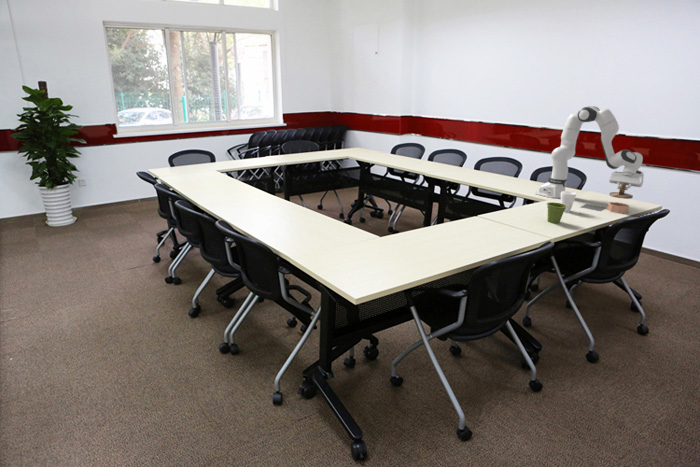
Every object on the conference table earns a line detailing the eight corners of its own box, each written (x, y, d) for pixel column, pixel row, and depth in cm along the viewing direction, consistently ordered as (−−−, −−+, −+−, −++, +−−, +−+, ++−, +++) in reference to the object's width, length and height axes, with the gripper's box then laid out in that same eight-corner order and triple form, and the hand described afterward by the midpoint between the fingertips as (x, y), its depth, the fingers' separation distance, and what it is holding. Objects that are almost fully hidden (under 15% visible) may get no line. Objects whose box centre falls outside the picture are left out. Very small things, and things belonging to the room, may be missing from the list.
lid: (606, 195, 308) (609, 183, 305) (612, 192, 317) (615, 180, 314) (629, 199, 299) (632, 186, 296) (634, 196, 308) (637, 183, 305)
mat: (579, 207, 318) (579, 207, 318) (586, 204, 328) (586, 203, 328) (600, 211, 309) (600, 211, 309) (606, 208, 319) (606, 207, 318)
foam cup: (574, 213, 303) (577, 194, 299) (559, 212, 305) (563, 193, 301) (570, 209, 312) (573, 191, 308) (556, 208, 314) (559, 190, 310)
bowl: (605, 211, 312) (606, 204, 310) (610, 208, 320) (611, 201, 318) (624, 214, 304) (625, 207, 302) (629, 211, 312) (630, 204, 310)
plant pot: (549, 224, 277) (552, 207, 273) (540, 219, 288) (543, 202, 284) (567, 224, 278) (571, 207, 274) (557, 219, 289) (560, 202, 285)
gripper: (612, 168, 314) (605, 183, 311) (645, 172, 300) (638, 188, 297) (613, 173, 319) (606, 189, 315) (646, 178, 305) (638, 194, 301)
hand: (622, 189), depth 306 cm, fingers closed on lid, 3 cm apart
